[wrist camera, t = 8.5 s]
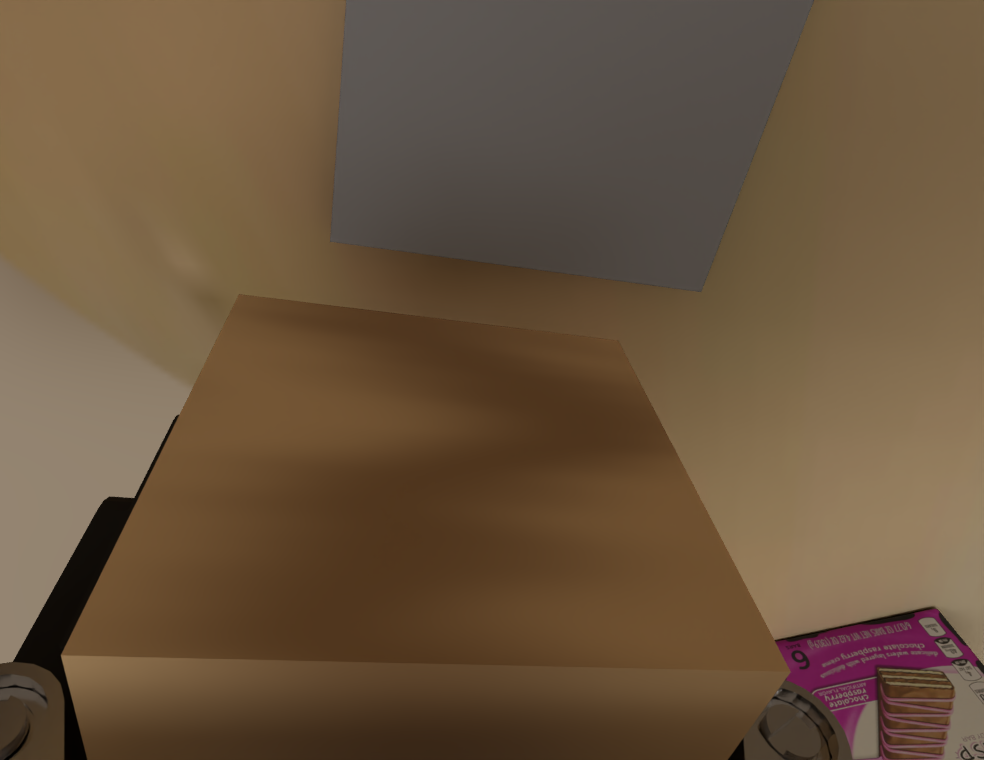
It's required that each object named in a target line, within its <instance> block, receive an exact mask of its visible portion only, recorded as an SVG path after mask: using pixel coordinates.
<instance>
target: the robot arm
mask: <svg viewBox="0 0 984 760" xmlns="http://www.w3.org/2000/svg"><path fill="white" fill-rule="evenodd" d="M178 417H179V415H177V416H176V417H175V419H174V420H173V422H172V424H171V426H170V428H169V430H168V432H167V434H166V436H165V438H164V440H163V442H162V444H161V446H160V448H159V450H158V452H157V454H156V456H155V458H154V460H153V462H152V464H151V466H150V468H149V470H148V472H147V474H146V476H145V478H144V480H143V482H142V484H141V486H140V488H139V490H138V492H137V494H136V496H135V498H123V497H108V498H107V499H105V500H104V501H103V503H102V504H101V505H100V507H99V508H98V510H97V512H96V514H95V515H94V517H93V519H92V521H91V523H90V524H89V526H88V528H87V530H86V532H85V533H84V535H83V537H82V539H81V541H80V542H79V544H78V546H77V548H76V550H75V552H74V553H73V555H72V557H71V558H70V560H69V562H68V564H67V566H66V568H65V569H64V571H63V573H62V575H61V576H60V578H59V580H58V582H57V584H56V585H55V587H54V589H53V591H52V593H51V594H50V596H49V598H48V600H47V602H46V604H45V605H44V607H43V609H42V610H41V612H40V614H39V616H38V618H37V619H36V622H35V623H34V625H33V627H32V628H31V630H30V632H29V634H28V636H27V637H26V639H25V641H24V643H23V645H22V647H21V648H20V650H19V652H18V654H17V655H16V657H15V659H14V661H13V662H9V663H2V664H0V760H87V756H86V752H85V748H84V744H83V740H82V736H81V732H80V728H79V724H78V721H77V717H76V713H75V709H74V705H73V701H72V697H71V693H70V689H69V685H68V681H67V677H66V673H65V670H64V666H63V662H62V658H61V654H62V652H63V650H64V648H65V646H66V644H67V642H68V640H69V638H70V636H71V634H72V632H73V630H74V628H75V626H76V624H77V622H78V620H79V618H80V616H81V614H82V612H83V610H84V608H85V606H86V604H87V601H88V599H89V597H90V595H91V593H92V591H93V589H94V587H95V585H96V583H97V581H98V579H99V577H100V575H101V573H102V571H103V569H104V567H105V565H106V563H107V561H108V559H109V557H110V555H111V553H112V551H113V549H114V547H115V545H116V543H117V541H118V539H119V537H120V535H121V533H122V531H123V529H124V527H125V524H126V522H127V520H128V518H129V516H130V514H131V512H132V510H133V508H134V506H135V504H136V502H137V500H138V498H139V496H140V494H141V492H142V490H143V488H144V486H145V484H146V482H147V480H148V478H149V476H150V474H151V472H152V470H153V468H154V466H155V464H156V462H157V460H158V458H159V456H160V454H161V452H162V450H163V448H164V445H165V443H166V441H167V439H168V437H169V435H170V433H171V431H172V429H173V427H174V425H175V423H176V421H177V419H178ZM728 760H853V758H852V754H851V749H850V745H849V743H848V740H847V737H846V734H845V731H844V730H843V728H842V726H841V725H840V723H839V722H838V720H837V719H836V717H835V715H834V714H833V713H832V712H831V711H830V710H829V709H828V708H827V707H826V706H825V705H824V703H823V702H822V701H821V700H819V699H818V698H817V697H815V696H814V695H813V694H811V693H810V692H809V691H807V690H806V689H804V688H802V687H800V686H798V685H796V684H794V683H792V682H790V681H786V680H785V681H784V682H783V683H782V685H781V686H780V688H779V689H778V690H777V692H776V693H775V695H774V696H773V697H772V699H771V700H770V702H769V703H768V704H767V706H766V707H765V708H764V710H763V711H762V713H761V714H760V715H759V717H758V718H757V720H756V721H755V722H754V724H753V725H752V727H751V728H750V729H749V731H748V732H747V734H746V735H745V736H744V738H743V739H742V740H741V742H740V743H739V745H738V746H737V747H736V749H735V750H734V752H733V753H732V754H731V756H730V757H729V759H728Z"/></svg>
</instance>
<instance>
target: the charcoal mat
mask: <svg viewBox="0 0 984 760" xmlns="http://www.w3.org/2000/svg"><path fill="white" fill-rule="evenodd" d="M813 2H814V0H346V13H345V28H344V43H343V58H342V73H341V88H340V103H339V118H338V133H337V148H336V163H335V178H334V193H333V207H332V222H331V237H330V242H337V243H344V244H351V245H359V246H366V247H373V248H381V249H388V250H396V251H403V252H410V253H418V254H425V255H432V256H440V257H447V258H454V259H462V260H469V261H476V262H484V263H491V264H499V265H506V266H513V267H521V268H528V269H535V270H543V271H550V272H557V273H565V274H572V275H579V276H587V277H594V278H602V279H609V280H616V281H624V282H631V283H638V284H646V285H653V286H660V287H668V288H675V289H682V290H690V291H697V292H701V291H702V288H703V286H704V283H705V281H706V278H707V276H708V273H709V270H710V268H711V265H712V263H713V260H714V257H715V255H716V252H717V250H718V247H719V245H720V242H721V239H722V237H723V234H724V232H725V229H726V226H727V224H728V221H729V219H730V216H731V214H732V211H733V208H734V206H735V203H736V201H737V198H738V195H739V193H740V190H741V188H742V185H743V183H744V180H745V177H746V175H747V172H748V170H749V167H750V164H751V162H752V159H753V157H754V154H755V152H756V149H757V146H758V144H759V141H760V139H761V136H762V133H763V131H764V128H765V126H766V123H767V121H768V118H769V115H770V113H771V110H772V108H773V105H774V102H775V100H776V97H777V95H778V92H779V90H780V87H781V84H782V82H783V79H784V77H785V74H786V71H787V69H788V66H789V64H790V61H791V59H792V56H793V53H794V51H795V48H796V46H797V43H798V40H799V38H800V35H801V33H802V30H803V28H804V25H805V22H806V20H807V17H808V15H809V12H810V9H811V7H812V4H813Z"/></svg>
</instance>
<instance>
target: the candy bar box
mask: <svg viewBox="0 0 984 760" xmlns="http://www.w3.org/2000/svg"><path fill="white" fill-rule="evenodd" d="M775 643H776V644H777V646H778V648H779V650H780V652H781V654H782V656H783V658H784V660H785V662H786V664H787V666H788V667H789V669H790V671H791V672H790V674H789V675H788V676H787V678H786V679H785V680H786V681H790V682H792V683H794V684H796V685H798V686H800V687H802V688H804V689H806V690H807V691H809V692H810V693H811V694H813V695H814V696H815V697H817V698H818V699H819V700H821V701H822V702H823V703H824V705H825V706H826V707H827V708H828V709H829V710H830V711H831V712H832V713H833V714H834V715H835V717H836V719H837V720H838V722H839V723H840V725H841V726H842V728H843V730H844V731H845V734H846V737H847V740H848V743H849V745H850V749H851V754H852V758H853V760H984V665H983V664H982V663H981V662H980V660H979V659H978V658H977V657H976V656H975V654H974V653H973V652H972V651H971V649H970V648H969V647H968V646H967V645H966V643H965V642H964V641H963V639H962V638H961V637H960V636H959V635H958V634H957V632H956V631H955V630H954V629H953V627H952V626H951V625H950V624H949V622H948V621H947V620H946V619H945V618H944V616H943V615H942V614H941V613H940V612H939V610H938V609H930V610H926V611H921V612H916V613H912V614H907V615H902V616H897V617H892V618H887V619H882V620H877V621H873V622H868V623H863V624H859V625H854V626H849V627H844V628H839V629H835V630H830V631H825V632H820V633H815V634H810V635H806V636H801V637H796V638H791V639H786V640H781V641H776V642H775Z"/></svg>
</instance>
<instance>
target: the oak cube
mask: <svg viewBox="0 0 984 760" xmlns="http://www.w3.org/2000/svg"><path fill="white" fill-rule="evenodd" d="M61 658H62V662H63V666H64V670H65V673H66V677H67V681H68V685H69V689H70V693H71V697H72V701H73V705H74V709H75V713H76V717H77V721H78V724H79V728H80V732H81V736H82V740H83V744H84V748H85V752H86V756H87V760H728V759H729V757H730V756H731V754H732V753H733V752H734V750H735V749H736V747H737V746H738V745H739V743H740V742H741V740H742V739H743V738H744V736H745V735H746V734H747V732H748V731H749V729H750V728H751V727H752V725H753V724H754V722H755V721H756V720H757V718H758V717H759V715H760V714H761V713H762V711H763V710H764V708H765V707H766V706H767V704H768V703H769V702H770V700H771V699H772V697H773V696H774V695H775V693H776V692H777V690H778V689H779V688H780V686H781V685H782V683H783V682H784V681H785V679H786V678H787V676H788V675H789V674H790V672H791V671H790V669H789V667H788V666H787V664H786V662H785V660H784V658H783V656H782V654H781V652H780V650H779V648H778V646H777V644H776V643H775V641H774V639H773V637H772V635H771V633H770V631H769V629H768V627H767V625H766V623H765V622H764V620H763V618H762V616H761V614H760V612H759V610H758V608H757V606H756V604H755V602H754V600H753V599H752V597H751V595H750V593H749V591H748V589H747V587H746V585H745V583H744V581H743V579H742V577H741V576H740V574H739V572H738V570H737V568H736V566H735V564H734V562H733V560H732V558H731V556H730V554H729V553H728V551H727V549H726V547H725V545H724V543H723V541H722V539H721V537H720V535H719V533H718V531H717V530H716V528H715V526H714V524H713V522H712V520H711V518H710V516H709V514H708V512H707V510H706V508H705V507H704V505H703V503H702V501H701V499H700V497H699V495H698V493H697V491H696V489H695V487H694V485H693V484H692V482H691V480H690V478H689V476H688V474H687V472H686V470H685V468H684V466H683V464H682V462H681V461H680V459H679V457H678V455H677V453H676V451H675V449H674V447H673V445H672V443H671V441H670V439H669V438H668V436H667V434H666V432H665V430H664V428H663V426H662V424H661V422H660V420H659V418H658V416H657V415H656V413H655V411H654V409H653V407H652V405H651V403H650V401H649V399H648V397H647V395H646V393H645V392H644V390H643V388H642V386H641V384H640V382H639V380H638V378H637V376H636V374H635V372H634V371H633V369H632V367H631V365H630V363H629V361H628V359H627V357H626V355H625V353H624V351H623V349H622V348H621V346H620V344H619V342H618V341H617V340H609V339H600V338H592V337H584V336H576V335H568V334H560V333H551V332H543V331H535V330H527V329H519V328H510V327H502V326H494V325H486V324H478V323H470V322H461V321H453V320H445V319H437V318H429V317H421V316H412V315H404V314H396V313H388V312H380V311H371V310H363V309H355V308H347V307H339V306H331V305H322V304H314V303H306V302H298V301H290V300H282V299H273V298H265V297H257V296H249V295H241V294H239V296H238V298H237V300H236V302H235V304H234V306H233V308H232V310H231V312H230V314H229V316H228V318H227V320H226V322H225V324H224V326H223V328H222V330H221V332H220V334H219V336H218V338H217V340H216V342H215V344H214V346H213V348H212V350H211V352H210V354H209V356H208V358H207V360H206V362H205V364H204V366H203V368H202V371H201V373H200V375H199V377H198V379H197V381H196V383H195V385H194V387H193V389H192V391H191V393H190V395H189V397H188V399H187V401H186V403H185V405H184V407H183V409H182V411H181V413H180V415H179V417H178V419H177V421H176V423H175V425H174V427H173V429H172V431H171V433H170V435H169V437H168V439H167V441H166V443H165V445H164V448H163V450H162V452H161V454H160V456H159V458H158V460H157V462H156V464H155V466H154V468H153V470H152V472H151V474H150V476H149V478H148V480H147V482H146V484H145V486H144V488H143V490H142V492H141V494H140V496H139V498H138V500H137V502H136V504H135V506H134V508H133V510H132V512H131V514H130V516H129V518H128V520H127V522H126V524H125V527H124V529H123V531H122V533H121V535H120V537H119V539H118V541H117V543H116V545H115V547H114V549H113V551H112V553H111V555H110V557H109V559H108V561H107V563H106V565H105V567H104V569H103V571H102V573H101V575H100V577H99V579H98V581H97V583H96V585H95V587H94V589H93V591H92V593H91V595H90V597H89V599H88V601H87V604H86V606H85V608H84V610H83V612H82V614H81V616H80V618H79V620H78V622H77V624H76V626H75V628H74V630H73V632H72V634H71V636H70V638H69V640H68V642H67V644H66V646H65V648H64V650H63V652H62V654H61Z"/></svg>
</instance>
